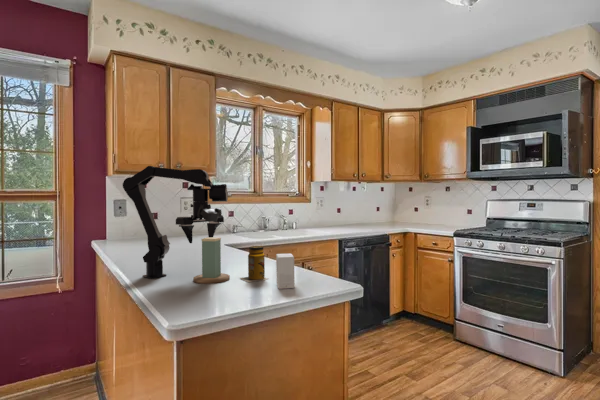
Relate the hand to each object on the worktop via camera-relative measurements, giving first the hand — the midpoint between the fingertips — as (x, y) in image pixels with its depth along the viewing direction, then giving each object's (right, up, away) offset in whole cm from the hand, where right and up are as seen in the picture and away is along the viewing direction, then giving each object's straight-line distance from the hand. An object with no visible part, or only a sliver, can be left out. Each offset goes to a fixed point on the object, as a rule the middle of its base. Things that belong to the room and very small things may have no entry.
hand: (200, 242), depth 140 cm
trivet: (+6, -13, -7) cm, 16 cm away
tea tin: (+6, -12, -7) cm, 15 cm away
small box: (+33, -13, -17) cm, 40 cm away
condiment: (+21, -13, -7) cm, 26 cm away
